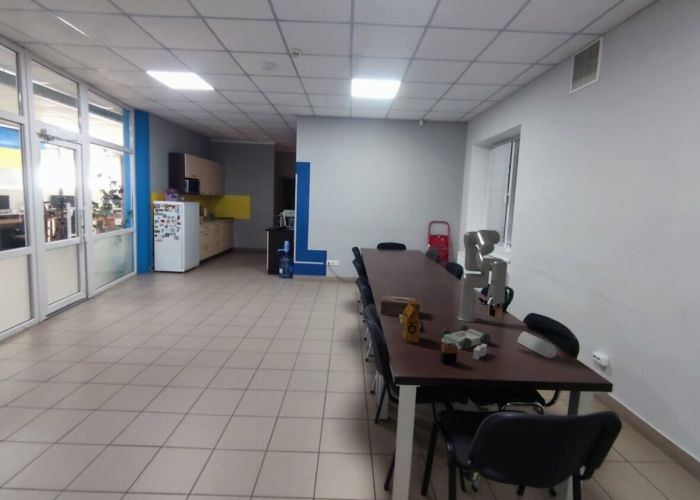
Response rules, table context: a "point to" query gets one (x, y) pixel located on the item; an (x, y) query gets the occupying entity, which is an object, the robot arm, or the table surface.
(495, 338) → the table surface
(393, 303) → the tissue box cover
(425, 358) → the table surface
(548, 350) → the crystal
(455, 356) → the battery
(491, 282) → the robot arm
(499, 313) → the box with black knob
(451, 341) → the chassis
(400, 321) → the puzzle game
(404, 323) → the coffee package
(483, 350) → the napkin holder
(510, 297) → the headset
